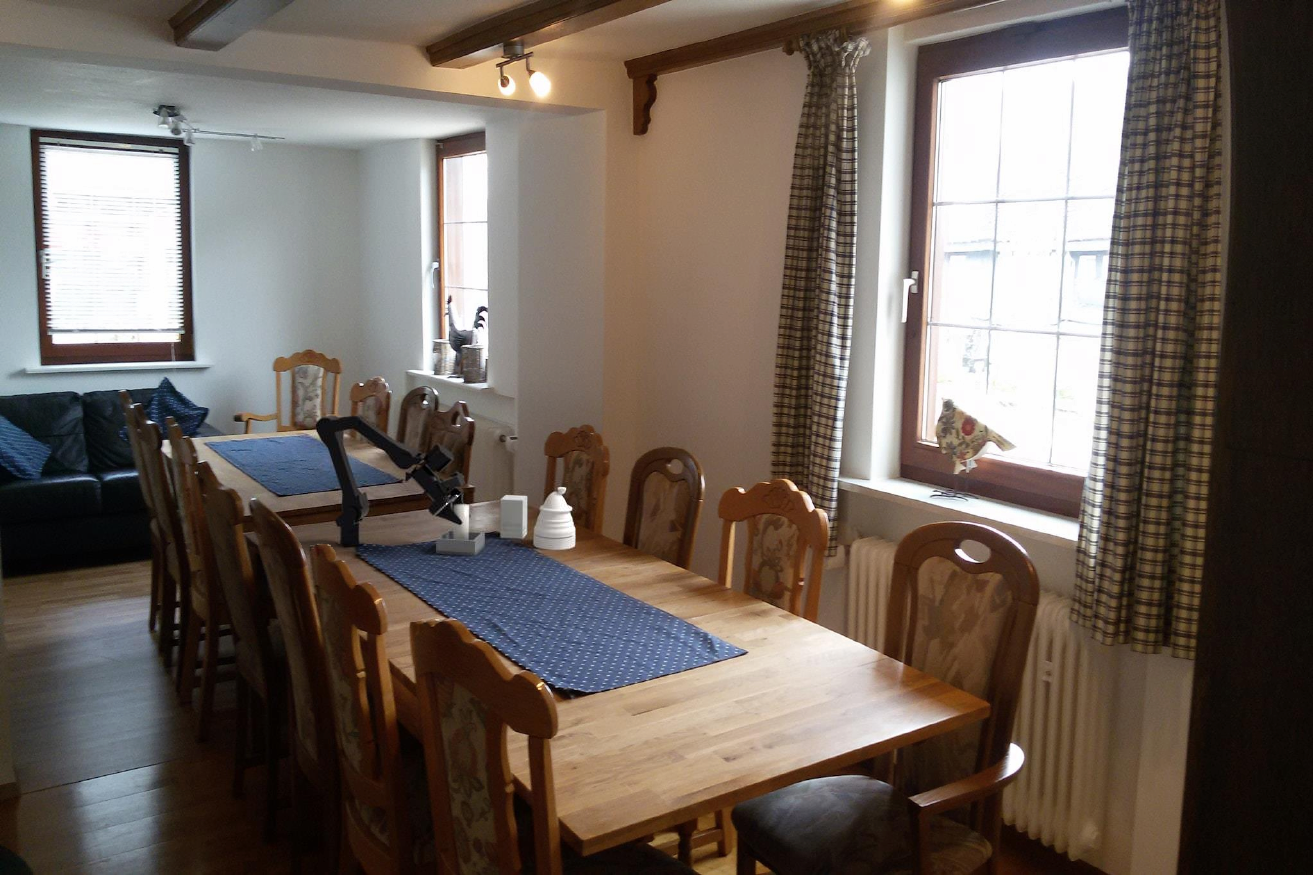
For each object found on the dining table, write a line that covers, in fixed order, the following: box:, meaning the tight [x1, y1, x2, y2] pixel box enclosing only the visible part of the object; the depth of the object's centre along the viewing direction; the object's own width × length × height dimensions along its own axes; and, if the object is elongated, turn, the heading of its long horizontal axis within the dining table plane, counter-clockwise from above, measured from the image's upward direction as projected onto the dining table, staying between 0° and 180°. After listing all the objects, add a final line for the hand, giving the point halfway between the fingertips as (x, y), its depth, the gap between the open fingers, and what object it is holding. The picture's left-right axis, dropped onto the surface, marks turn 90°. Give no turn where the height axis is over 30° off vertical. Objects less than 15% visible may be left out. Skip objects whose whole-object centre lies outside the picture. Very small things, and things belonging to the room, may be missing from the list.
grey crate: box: [435, 529, 486, 557], centre depth 314 cm, size 12×12×4 cm
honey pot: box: [533, 486, 576, 551], centre depth 325 cm, size 13×13×18 cm
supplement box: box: [499, 494, 528, 540], centre depth 334 cm, size 7×7×13 cm
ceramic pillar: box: [452, 503, 470, 540], centre depth 314 cm, size 5×5×12 cm
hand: (465, 520), depth 313 cm, fingers open, 9 cm apart
